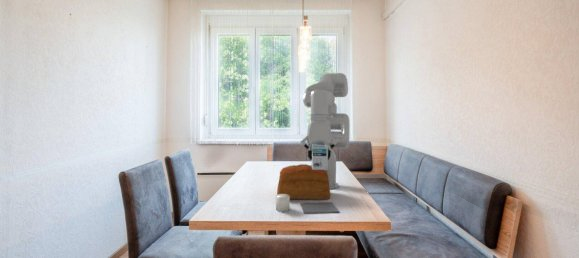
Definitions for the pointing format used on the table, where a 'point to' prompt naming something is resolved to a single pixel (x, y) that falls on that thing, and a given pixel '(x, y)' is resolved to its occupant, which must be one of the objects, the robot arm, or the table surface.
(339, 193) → the table surface
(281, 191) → the bread
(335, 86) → the robot arm
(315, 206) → the slate trivet
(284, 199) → the white capsule cylinder
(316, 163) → the light bulb box
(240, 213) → the table surface
